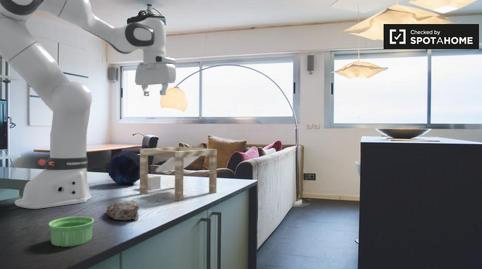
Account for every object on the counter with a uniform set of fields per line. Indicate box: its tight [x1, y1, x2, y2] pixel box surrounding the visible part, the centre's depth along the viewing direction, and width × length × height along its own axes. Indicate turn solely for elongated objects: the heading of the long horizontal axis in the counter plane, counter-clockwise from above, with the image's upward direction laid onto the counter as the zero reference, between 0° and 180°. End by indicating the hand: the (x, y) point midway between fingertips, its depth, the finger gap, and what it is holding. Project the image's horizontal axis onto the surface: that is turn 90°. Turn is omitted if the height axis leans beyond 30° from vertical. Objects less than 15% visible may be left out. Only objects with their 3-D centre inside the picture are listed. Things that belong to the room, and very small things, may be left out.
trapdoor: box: [155, 150, 201, 173], centre depth 134 cm, size 14×14×1 cm
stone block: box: [148, 174, 162, 191], centre depth 144 cm, size 5×5×6 cm
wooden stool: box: [139, 146, 218, 202], centre depth 135 cm, size 20×20×16 cm
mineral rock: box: [105, 199, 140, 222], centre depth 100 cm, size 15×8×4 cm, turn 23°
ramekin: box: [48, 215, 95, 248], centre depth 79 cm, size 9×9×4 cm
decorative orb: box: [107, 150, 140, 186], centre depth 153 cm, size 14×15×15 cm
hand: (154, 95), depth 144 cm, fingers open, 8 cm apart
